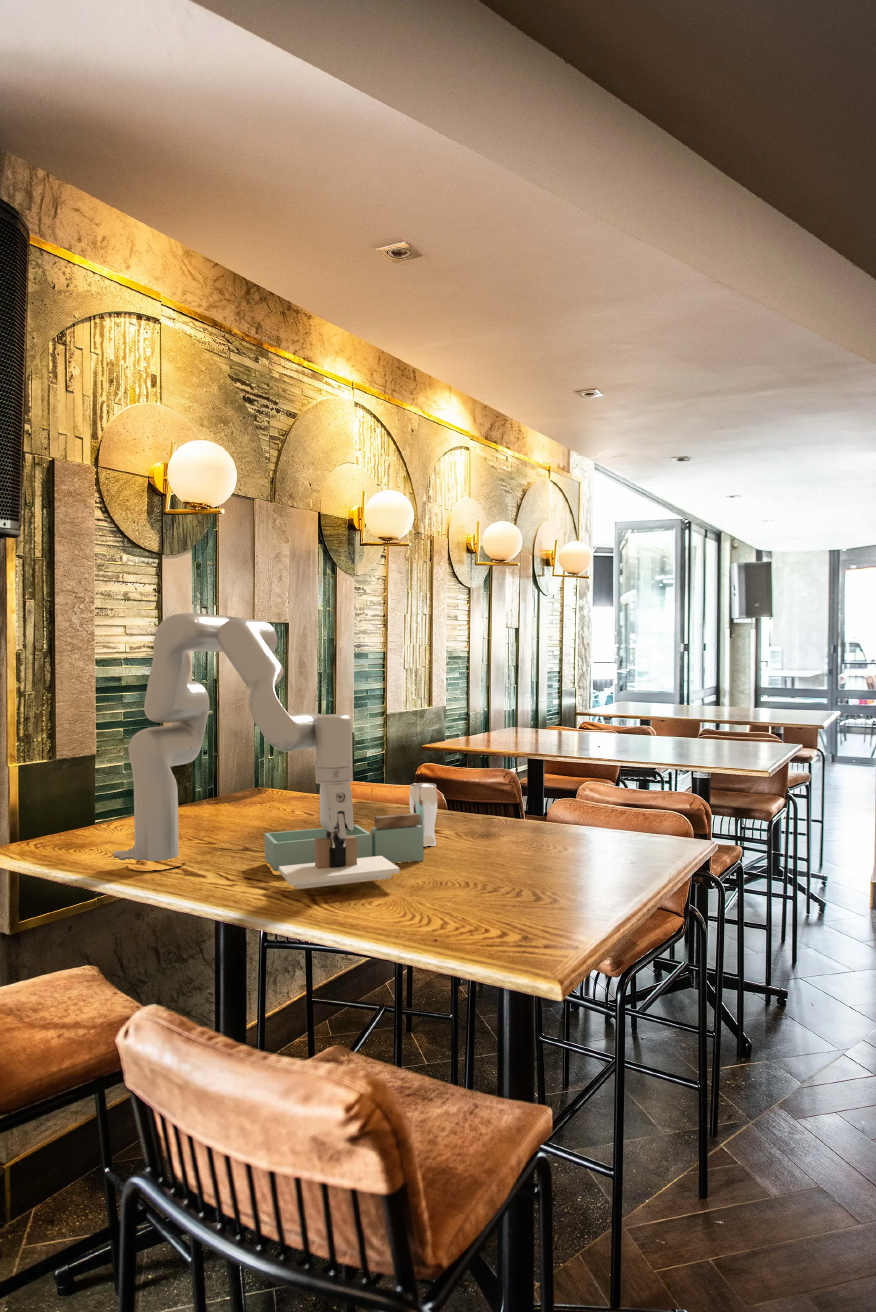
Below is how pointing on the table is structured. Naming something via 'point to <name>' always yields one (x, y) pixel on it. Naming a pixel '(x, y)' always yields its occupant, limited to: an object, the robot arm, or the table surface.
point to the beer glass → (425, 809)
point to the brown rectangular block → (396, 820)
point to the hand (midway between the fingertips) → (335, 863)
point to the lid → (326, 875)
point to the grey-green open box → (380, 842)
